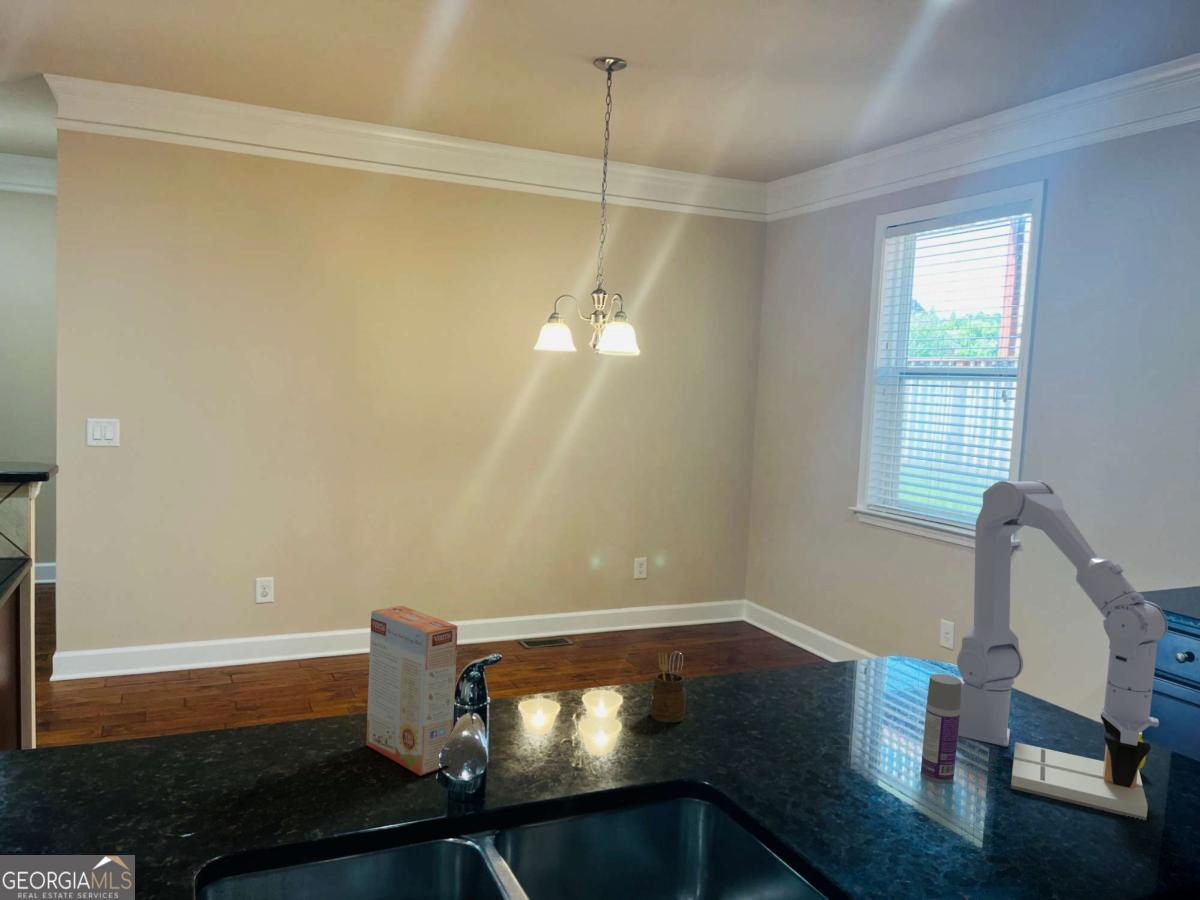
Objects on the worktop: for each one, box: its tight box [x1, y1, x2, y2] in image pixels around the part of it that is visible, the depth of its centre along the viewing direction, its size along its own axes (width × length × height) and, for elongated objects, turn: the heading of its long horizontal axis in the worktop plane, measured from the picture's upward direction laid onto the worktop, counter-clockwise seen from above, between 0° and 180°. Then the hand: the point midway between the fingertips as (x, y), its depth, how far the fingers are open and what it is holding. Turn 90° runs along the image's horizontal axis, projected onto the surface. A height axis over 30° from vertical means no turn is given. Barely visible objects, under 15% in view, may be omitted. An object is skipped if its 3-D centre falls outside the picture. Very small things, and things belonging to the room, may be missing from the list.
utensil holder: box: [650, 650, 687, 724], centre depth 146 cm, size 6×6×12 cm
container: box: [920, 673, 962, 784], centre depth 129 cm, size 5×5×15 cm
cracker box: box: [365, 605, 459, 776], centre depth 126 cm, size 14×6×21 cm, turn 47°
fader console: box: [1010, 741, 1149, 821], centre depth 129 cm, size 17×14×2 cm
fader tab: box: [1103, 743, 1138, 787], centre depth 126 cm, size 4×3×7 cm
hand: (1119, 775), depth 126 cm, fingers open, 7 cm apart
